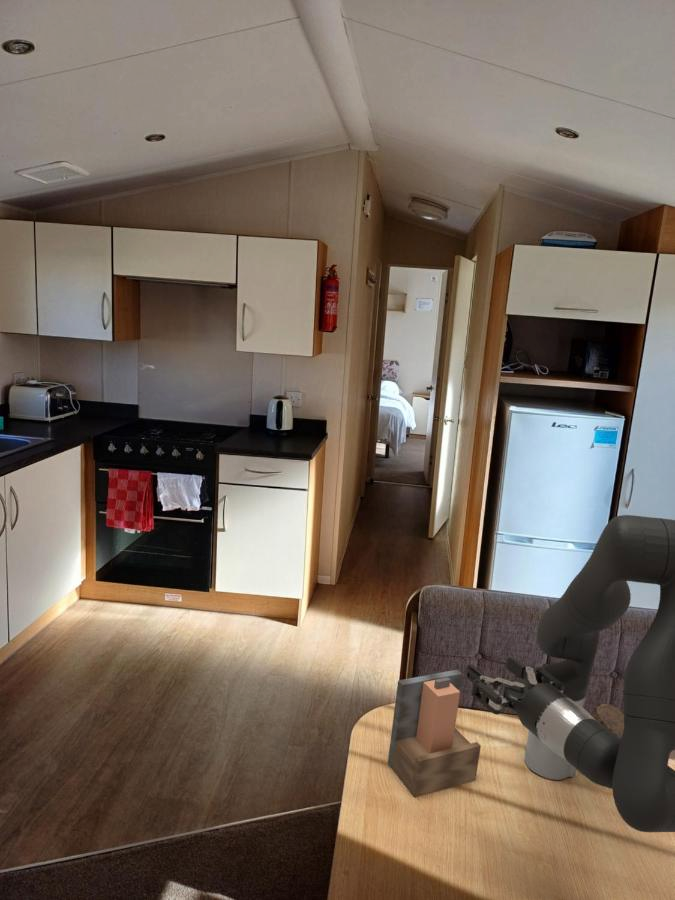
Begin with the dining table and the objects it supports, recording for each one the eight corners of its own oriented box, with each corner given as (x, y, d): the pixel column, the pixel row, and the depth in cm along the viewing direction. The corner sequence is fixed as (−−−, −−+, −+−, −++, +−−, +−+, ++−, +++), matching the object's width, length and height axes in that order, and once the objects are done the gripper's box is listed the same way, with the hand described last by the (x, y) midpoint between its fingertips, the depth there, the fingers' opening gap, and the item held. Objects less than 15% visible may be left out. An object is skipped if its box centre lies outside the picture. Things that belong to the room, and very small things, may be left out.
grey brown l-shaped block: (446, 748, 135) (457, 669, 131) (475, 780, 126) (488, 696, 122) (387, 763, 128) (398, 680, 125) (414, 797, 120) (426, 709, 116)
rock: (654, 759, 130) (624, 738, 127) (614, 787, 133) (584, 767, 129) (623, 709, 141) (596, 689, 138) (587, 737, 144) (559, 717, 140)
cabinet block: (437, 732, 130) (445, 670, 127) (451, 748, 125) (461, 684, 123) (416, 737, 127) (424, 675, 125) (430, 753, 123) (439, 689, 120)
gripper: (598, 690, 98) (524, 639, 112) (525, 707, 92) (457, 651, 106) (589, 735, 99) (517, 679, 114) (517, 754, 93) (450, 692, 107)
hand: (488, 665), depth 110 cm, fingers open, 8 cm apart
